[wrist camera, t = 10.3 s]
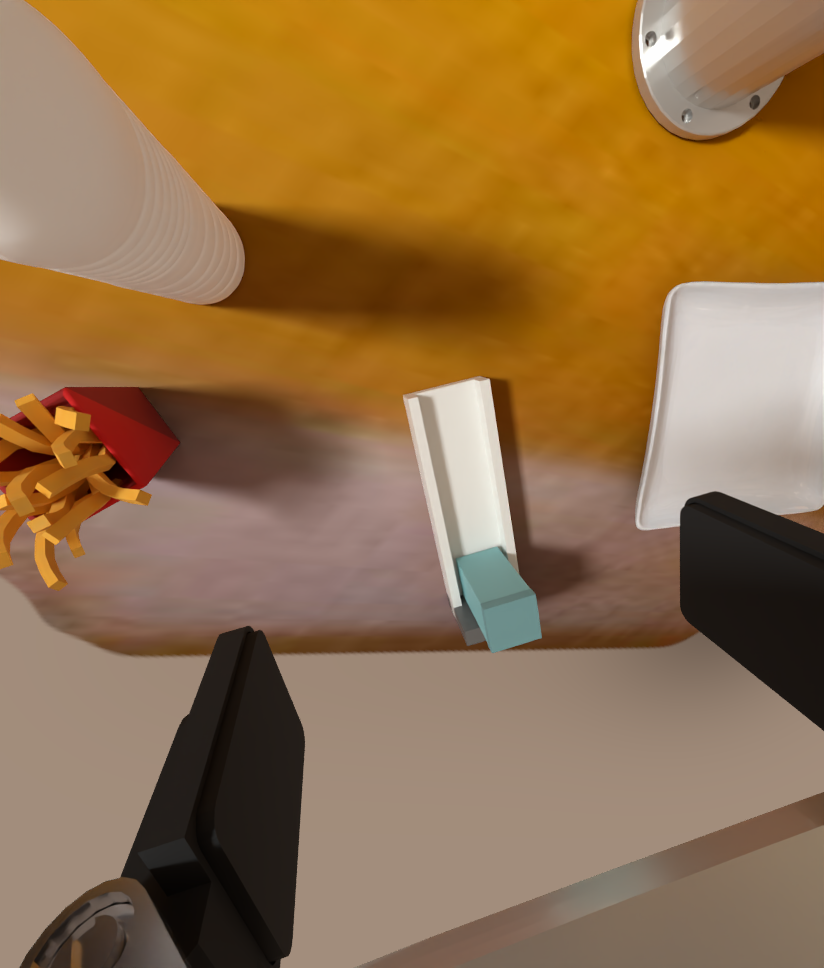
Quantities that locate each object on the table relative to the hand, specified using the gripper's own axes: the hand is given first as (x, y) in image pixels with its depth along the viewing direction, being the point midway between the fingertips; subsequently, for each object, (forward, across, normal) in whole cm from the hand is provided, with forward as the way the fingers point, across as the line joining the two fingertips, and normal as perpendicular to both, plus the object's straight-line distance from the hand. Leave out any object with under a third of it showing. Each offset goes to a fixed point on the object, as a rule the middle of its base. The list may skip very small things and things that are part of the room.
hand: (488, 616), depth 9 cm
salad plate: (+29, -33, +8) cm, 45 cm away
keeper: (+27, -6, +17) cm, 32 cm away
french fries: (+28, +17, -2) cm, 33 cm away
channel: (+28, -6, +10) cm, 31 cm away
